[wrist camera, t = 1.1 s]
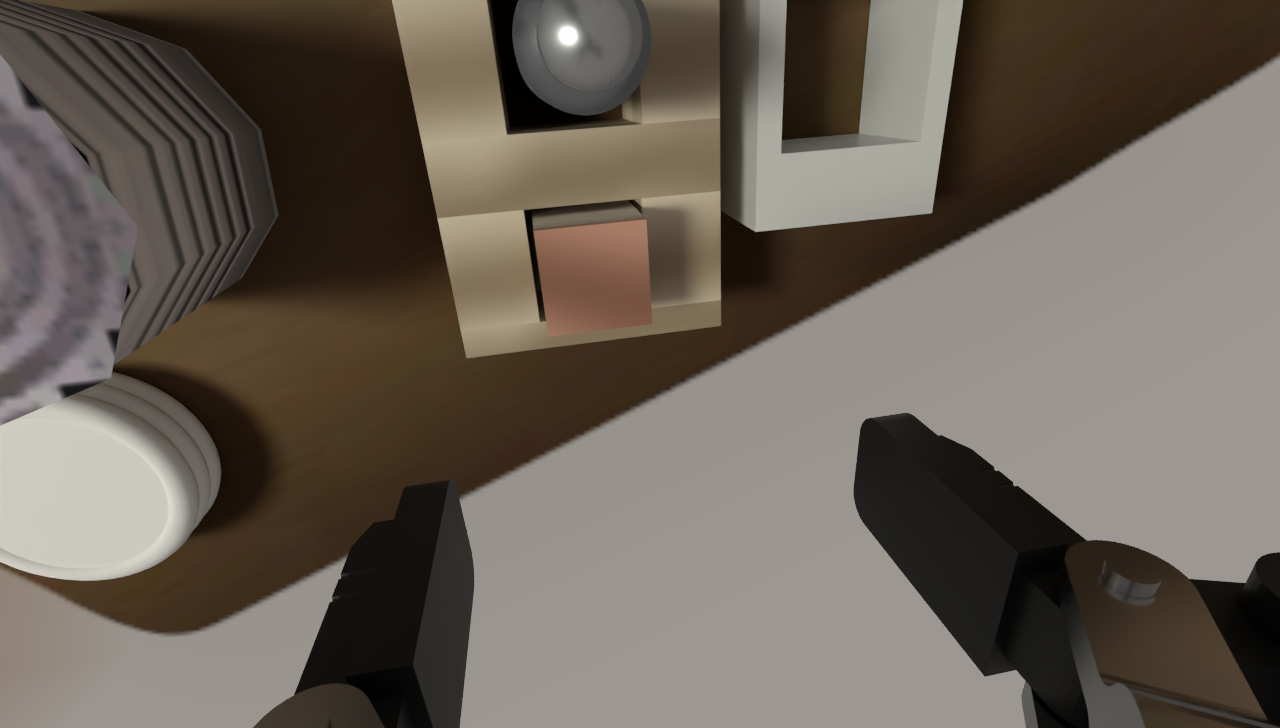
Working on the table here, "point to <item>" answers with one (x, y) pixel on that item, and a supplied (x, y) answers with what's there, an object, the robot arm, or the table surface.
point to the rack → (842, 164)
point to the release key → (593, 266)
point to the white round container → (103, 482)
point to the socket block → (567, 170)
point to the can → (112, 197)
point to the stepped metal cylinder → (582, 51)
